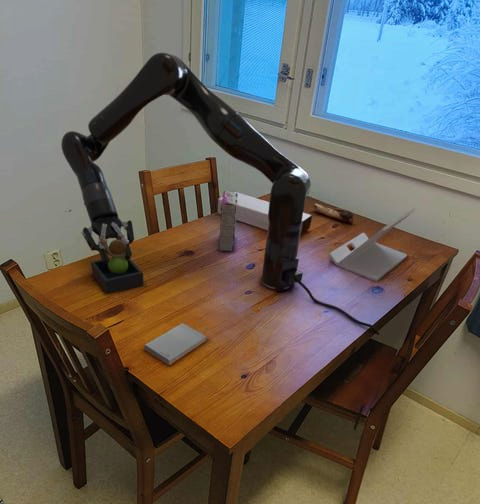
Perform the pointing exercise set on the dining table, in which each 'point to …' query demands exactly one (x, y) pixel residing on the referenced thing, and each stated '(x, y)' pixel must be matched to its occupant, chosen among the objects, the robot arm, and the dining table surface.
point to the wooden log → (335, 213)
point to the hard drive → (175, 343)
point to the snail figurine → (116, 256)
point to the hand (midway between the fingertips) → (118, 260)
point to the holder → (117, 276)
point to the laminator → (257, 212)
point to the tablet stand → (369, 254)
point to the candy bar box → (228, 221)
